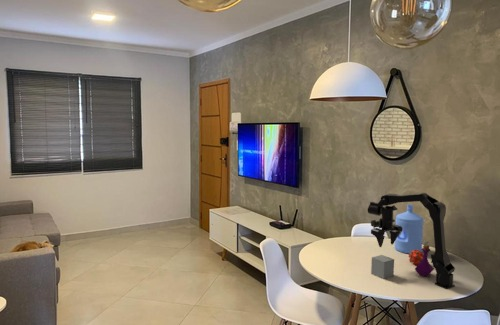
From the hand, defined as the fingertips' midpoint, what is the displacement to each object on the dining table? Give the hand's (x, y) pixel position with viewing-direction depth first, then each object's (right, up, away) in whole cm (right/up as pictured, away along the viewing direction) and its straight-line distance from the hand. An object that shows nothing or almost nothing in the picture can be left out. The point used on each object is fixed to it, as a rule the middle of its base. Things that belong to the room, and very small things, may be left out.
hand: (386, 245), depth 204 cm
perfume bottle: (+16, -13, -9) cm, 23 cm away
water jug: (+24, -9, +29) cm, 39 cm away
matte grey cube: (-5, -13, -9) cm, 17 cm away
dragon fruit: (+19, -12, +6) cm, 23 cm away
